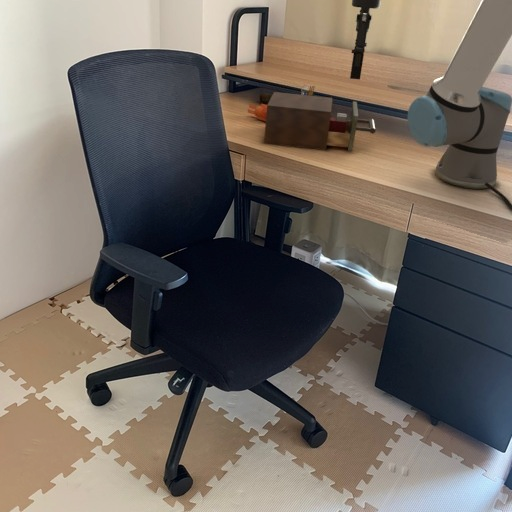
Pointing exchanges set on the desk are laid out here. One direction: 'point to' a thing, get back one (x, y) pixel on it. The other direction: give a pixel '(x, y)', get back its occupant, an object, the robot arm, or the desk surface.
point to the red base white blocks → (338, 123)
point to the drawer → (350, 130)
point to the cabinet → (298, 120)
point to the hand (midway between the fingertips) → (355, 74)
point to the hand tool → (265, 97)
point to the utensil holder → (309, 90)
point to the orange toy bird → (259, 111)
